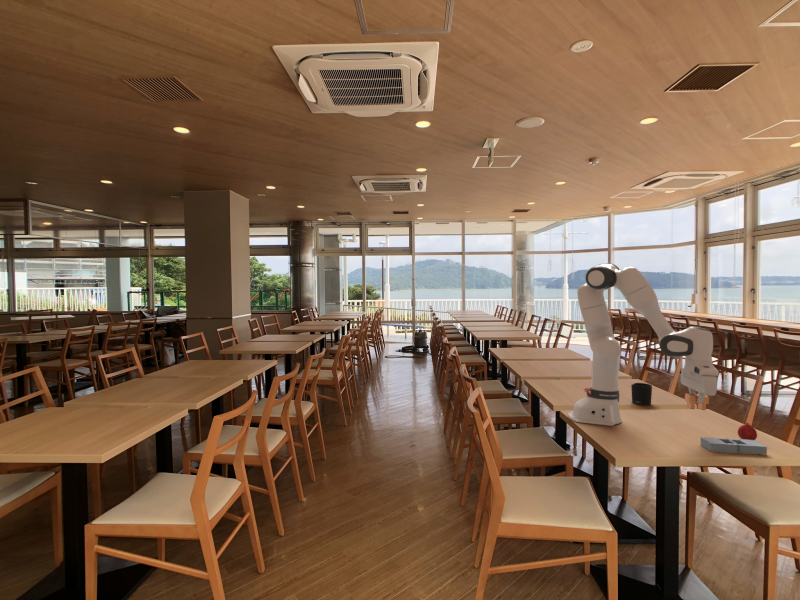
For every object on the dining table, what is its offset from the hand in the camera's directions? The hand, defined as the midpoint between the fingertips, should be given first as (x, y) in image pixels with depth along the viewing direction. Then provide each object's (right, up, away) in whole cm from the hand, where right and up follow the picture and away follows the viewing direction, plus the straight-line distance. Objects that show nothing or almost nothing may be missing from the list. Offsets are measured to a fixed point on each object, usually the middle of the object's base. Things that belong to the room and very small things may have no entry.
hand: (696, 401), depth 166 cm
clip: (0, -3, 0) cm, 3 cm away
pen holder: (+8, -14, +51) cm, 54 cm away
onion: (+15, -15, -6) cm, 22 cm away
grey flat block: (+4, -15, -13) cm, 20 cm away
